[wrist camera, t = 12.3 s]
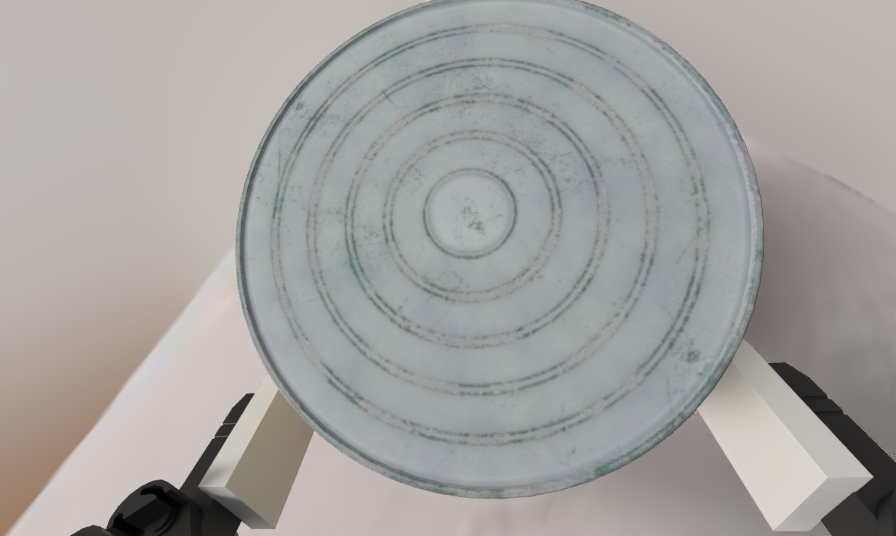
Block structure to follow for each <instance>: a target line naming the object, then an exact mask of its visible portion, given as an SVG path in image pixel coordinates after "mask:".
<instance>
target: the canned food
mask: <svg viewBox="0 0 896 536" xmlns="http://www.w3.org/2000/svg"><path fill="white" fill-rule="evenodd" d="M235 252H236V273H237V282H238V290H239V295H240V300H241V305H242V309H243V314H244V317H245V320H246V323H247V326H248V329H249V333H250V336H251V338H252V340H253V343H254V345H255V347H256V350H257V352H258V354H259V357H260V359H261V360H262V362H263V364H264V366H265V368H266V370H267V371H268V373H269V375H270V377H271V379H272V380H273V382H274V383H275V384H276V386H277V387H278V389H279V390H280V392H281V393H282V395H283V396H284V397H285V399H286V400H287V401H288V402H289V404H290V405H291V406H292V407H293V408H294V409H295V411H296V412H297V413H298V414H299V415H300V417H301V418H302V419H303V420H304V421H305V422H306V423H307V424H309V425H310V426H311V427H312V428H313V429H314V430H315V431H316V432H317V433H318V434H319V435H320V436H321V437H322V438H324V439H325V440H326V441H328V442H329V443H330V444H332V445H333V446H334V447H335V448H337V449H338V450H339V451H341V452H342V453H344V454H345V455H347V456H348V457H350V458H352V459H353V460H355V461H356V462H358V463H360V464H361V465H363V466H365V467H367V468H369V469H371V470H373V471H375V472H377V473H379V474H381V475H383V476H385V477H387V478H390V479H392V480H395V481H398V482H401V483H404V484H406V485H409V486H412V487H415V488H419V489H423V490H427V491H431V492H435V493H439V494H444V495H451V496H459V497H466V498H483V499H507V498H518V497H530V496H536V495H541V494H546V493H551V492H556V491H561V490H565V489H568V488H571V487H574V486H577V485H580V484H584V483H587V482H590V481H592V480H595V479H597V478H599V477H602V476H604V475H606V474H608V473H611V472H613V471H615V470H617V469H620V468H621V467H623V466H625V465H626V464H628V463H630V462H632V461H633V460H635V459H637V458H638V457H640V456H642V455H644V454H645V453H647V452H648V451H649V450H651V449H652V448H653V447H655V446H656V445H657V444H659V443H660V442H662V441H663V440H664V439H666V438H667V437H668V436H670V435H671V434H672V433H673V432H674V431H675V430H676V429H677V428H678V427H679V426H680V425H681V424H683V423H684V422H685V421H686V420H687V419H688V418H689V417H690V416H691V415H692V414H693V413H694V412H695V411H696V410H697V408H698V407H699V406H700V405H701V404H702V402H703V401H704V400H705V399H706V398H707V397H708V395H709V394H710V393H711V392H712V391H713V389H714V388H715V386H716V385H717V383H718V382H719V380H720V379H721V377H722V376H723V374H724V373H725V371H726V370H727V368H728V367H729V365H730V363H731V361H732V359H733V357H734V355H735V353H736V351H737V350H738V348H739V346H740V344H741V342H742V340H743V337H744V335H745V332H746V329H747V327H748V324H749V321H750V319H751V316H752V313H753V310H754V306H755V302H756V298H757V294H758V290H759V286H760V280H761V272H762V264H763V256H764V222H763V213H762V204H761V196H760V192H759V187H758V183H757V179H756V174H755V170H754V167H753V165H752V162H751V159H750V156H749V153H748V150H747V147H746V145H745V143H744V141H743V139H742V137H741V134H740V132H739V130H738V128H737V126H736V124H735V122H734V120H733V119H732V117H731V116H730V114H729V112H728V111H727V109H726V107H725V106H724V104H723V103H722V101H721V99H720V98H719V97H718V96H717V94H716V93H715V92H714V90H713V89H712V88H711V87H710V85H709V84H708V83H707V82H706V80H705V79H704V78H703V77H702V76H701V75H700V74H699V73H698V72H697V71H696V69H694V67H693V66H692V65H691V64H690V63H689V62H688V61H687V60H686V59H684V58H683V57H682V56H681V55H680V54H678V53H677V52H676V51H675V50H674V49H673V48H672V47H670V46H669V45H668V44H667V43H665V42H664V41H662V40H661V39H659V38H658V37H656V36H655V35H654V34H652V33H651V32H649V31H648V30H646V29H645V28H643V27H641V26H639V25H637V24H636V23H634V22H632V21H630V20H629V19H627V18H625V17H623V16H620V15H618V14H616V13H613V12H611V11H609V10H607V9H604V8H602V7H599V6H596V5H593V4H590V3H587V2H584V1H581V0H432V1H428V2H424V3H421V4H418V5H416V6H413V7H410V8H407V9H405V10H402V11H400V12H398V13H395V14H393V15H391V16H389V17H386V18H385V19H382V20H380V21H378V22H377V23H375V24H373V25H371V26H369V27H368V28H366V29H364V30H363V31H361V32H359V33H358V34H356V35H355V36H353V37H352V38H350V39H349V40H347V41H346V42H344V43H343V44H342V45H340V46H339V47H338V48H336V49H335V50H334V51H333V52H331V53H330V54H329V55H328V56H326V57H325V58H324V59H323V60H322V61H321V62H320V63H319V64H318V65H317V66H316V67H315V68H313V69H312V70H311V71H310V72H309V74H308V75H307V76H306V77H305V78H304V79H303V80H302V81H301V82H300V83H299V84H298V85H297V87H296V88H295V89H294V90H293V92H292V93H291V94H290V96H289V97H288V98H287V99H286V101H285V102H284V103H283V105H282V106H281V108H280V109H279V111H278V113H277V114H276V116H275V117H274V118H273V120H272V122H271V123H270V125H269V127H268V129H267V131H266V133H265V134H264V136H263V138H262V140H261V142H260V144H259V147H258V149H257V151H256V153H255V156H254V158H253V160H252V163H251V166H250V169H249V172H248V175H247V178H246V181H245V185H244V189H243V193H242V197H241V201H240V207H239V213H238V220H237V228H236V244H235Z"/></svg>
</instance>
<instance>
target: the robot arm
mask: <svg viewBox="0 0 896 536" xmlns="http://www.w3.org/2000/svg"><path fill="white" fill-rule="evenodd" d="M697 410H698V411H699V413H700V415H701V416H702V418H703V419H704V421H705V423H706V424H707V426H708V427H709V429H710V431H711V432H712V434H713V435H714V437H715V439H716V440H717V442H718V443H719V445H720V447H721V448H722V450H723V451H724V453H725V455H726V456H727V458H728V459H729V461H730V463H731V464H732V466H733V467H734V469H735V471H736V472H737V474H738V475H739V477H740V479H741V480H742V482H743V483H744V485H745V487H746V488H747V490H748V491H749V493H750V495H751V496H752V498H753V500H754V501H755V503H756V504H757V506H758V508H759V509H760V511H761V512H762V514H763V516H764V517H765V519H766V520H767V522H768V524H769V525H770V527H771V528H772V530H773V531H810V530H811V529H812V528H813V527H815V526H816V525H817V524H818V523H819V522H821V521H822V523H823V524H824V525H825V527H826V528H827V529H828V531H829V532H830V533H831V535H832V536H896V463H895V462H894V461H893V460H892V459H891V458H890V457H889V456H888V455H887V454H886V453H885V452H884V451H883V450H882V449H881V448H880V447H879V446H878V445H877V444H876V443H875V442H874V441H873V440H872V439H871V438H870V437H869V436H868V435H867V434H866V433H865V432H864V431H863V430H862V429H861V428H860V427H859V426H858V425H857V424H856V423H855V422H854V421H853V420H852V419H851V418H850V417H849V416H848V415H844V414H843V410H842V409H841V408H839V407H838V406H837V405H836V404H835V403H834V402H833V401H832V400H831V399H828V398H827V395H826V394H825V393H824V392H823V391H822V390H821V389H820V388H819V387H818V386H817V385H816V384H815V383H814V382H813V381H812V380H811V379H810V378H809V377H807V376H806V375H804V374H803V373H801V372H799V371H798V370H796V369H795V368H793V367H791V366H790V365H788V364H787V363H785V362H784V363H767V362H766V361H765V360H764V359H763V358H762V357H761V356H760V355H759V354H758V353H757V352H756V350H755V349H754V348H753V347H752V346H751V345H750V344H749V343H748V342H747V341H746V340H745V339H744V338H743V340H742V342H741V344H740V346H739V348H738V350H737V351H736V353H735V355H734V357H733V359H732V361H731V363H730V365H729V367H728V368H727V370H726V371H725V373H724V374H723V376H722V377H721V379H720V380H719V382H718V383H717V385H716V386H715V388H714V389H713V391H712V392H711V393H710V394H709V395H708V397H707V398H706V399H705V400H704V401H703V402H702V404H701V405H700V406H699V407H698V408H697ZM313 432H314V429H313V428H312V427H311V426H310V425H309V424H307V423H306V422H305V421H304V420H303V419H302V418H301V417H300V415H299V414H298V413H297V412H296V411H295V409H294V408H293V407H292V406H291V405H290V404H289V402H288V401H287V400H286V399H285V397H284V396H283V395H282V393H281V392H280V390H279V389H278V387H277V386H276V384H275V383H274V382H273V380H272V379H271V377H270V375H269V373H267V374H266V376H265V378H264V379H263V381H262V383H261V384H260V386H259V388H258V389H257V391H256V392H255V393H250V394H246V395H245V396H244V397H243V398H242V399H241V400H240V401H239V402H238V403H237V404H236V405H235V406H234V407H233V408H232V410H231V411H230V413H229V414H228V416H227V417H226V419H225V420H224V422H223V426H221V427H220V428H219V430H218V431H217V433H216V434H215V438H214V439H212V440H211V442H210V444H209V445H208V447H207V448H206V450H205V451H204V453H203V454H202V456H201V457H200V459H199V460H198V462H197V464H196V465H195V467H194V468H193V470H192V471H191V473H190V474H189V476H188V477H187V479H186V481H185V482H184V484H183V485H182V487H181V488H180V489H179V490H178V489H177V488H175V487H174V486H172V485H171V484H170V483H168V482H166V481H164V480H155V481H151V482H149V483H147V484H145V485H143V486H141V487H139V488H138V489H137V490H135V491H134V492H133V493H131V494H130V495H129V496H128V497H127V498H126V499H125V500H124V501H123V502H122V503H121V504H120V505H119V506H118V508H117V509H116V510H115V512H114V513H113V515H112V516H111V518H110V520H109V522H108V525H107V528H106V529H104V528H102V527H100V526H95V525H92V526H89V527H85V528H83V529H81V530H79V531H77V532H76V533H74V534H72V535H71V536H239V535H238V533H237V532H236V531H237V529H238V527H239V525H240V523H241V521H242V522H243V523H245V524H246V525H247V526H249V527H250V528H251V529H275V528H276V525H277V523H278V520H279V518H280V515H281V513H282V510H283V508H284V505H285V503H286V500H287V498H288V495H289V492H290V490H291V487H292V485H293V482H294V480H295V477H296V475H297V472H298V470H299V467H300V465H301V462H302V460H303V457H304V455H305V452H306V450H307V447H308V445H309V442H310V440H311V437H312V435H313Z"/></svg>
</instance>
